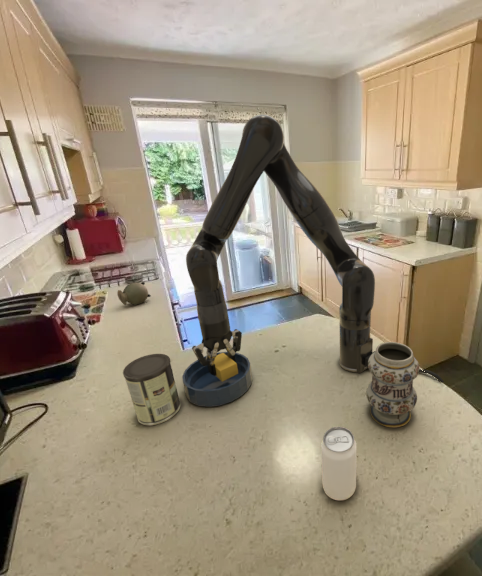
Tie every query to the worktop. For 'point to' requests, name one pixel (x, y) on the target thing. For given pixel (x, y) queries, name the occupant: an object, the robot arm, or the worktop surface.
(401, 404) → the apothecary jar
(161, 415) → the coffee can
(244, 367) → the bowl
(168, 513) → the worktop surface
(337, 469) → the can
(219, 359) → the sponge
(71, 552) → the worktop surface
